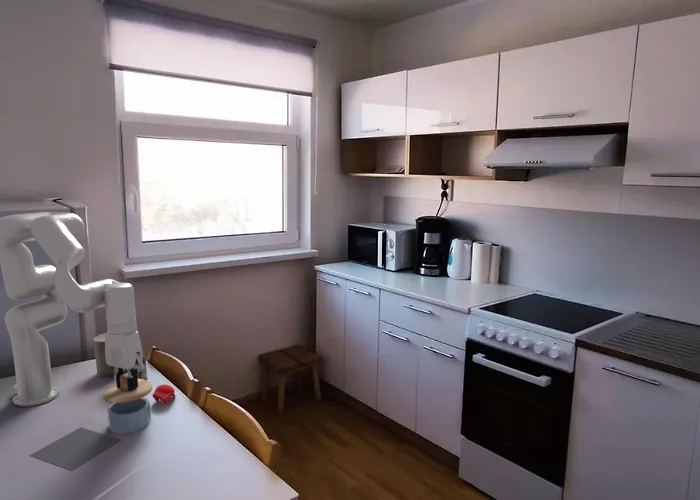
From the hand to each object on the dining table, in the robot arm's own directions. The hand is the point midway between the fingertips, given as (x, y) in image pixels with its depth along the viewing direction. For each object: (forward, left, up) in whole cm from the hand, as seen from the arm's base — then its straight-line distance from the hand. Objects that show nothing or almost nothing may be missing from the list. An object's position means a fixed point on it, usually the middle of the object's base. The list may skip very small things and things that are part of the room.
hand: (127, 387), depth 142 cm
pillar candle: (-35, +24, -12) cm, 44 cm away
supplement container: (-21, +20, -12) cm, 32 cm away
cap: (-1, +15, -12) cm, 19 cm away
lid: (0, 0, -1) cm, 1 cm away
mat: (-3, -15, -12) cm, 19 cm away
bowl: (0, 0, -12) cm, 12 cm away
